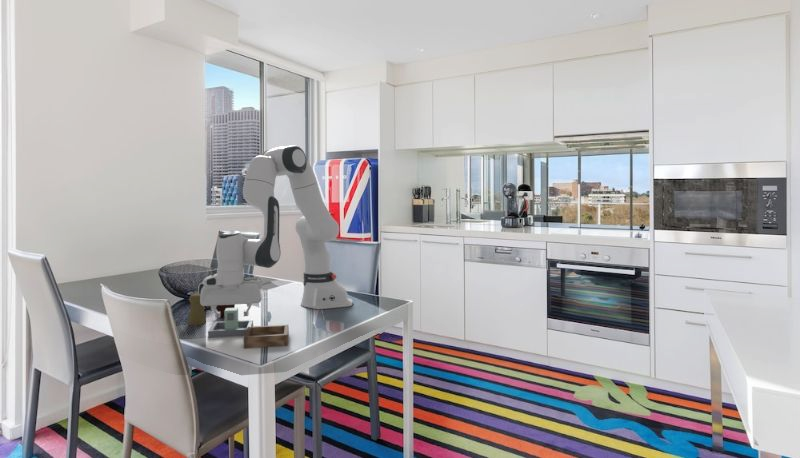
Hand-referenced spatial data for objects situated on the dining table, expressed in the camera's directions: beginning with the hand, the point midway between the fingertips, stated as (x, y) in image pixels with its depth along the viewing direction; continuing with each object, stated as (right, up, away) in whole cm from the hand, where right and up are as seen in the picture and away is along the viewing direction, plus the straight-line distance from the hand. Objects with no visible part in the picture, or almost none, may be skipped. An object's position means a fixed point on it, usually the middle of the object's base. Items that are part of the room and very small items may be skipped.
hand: (232, 316), depth 158 cm
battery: (-21, -3, +30) cm, 36 cm away
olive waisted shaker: (-17, -5, +10) cm, 20 cm away
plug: (0, -5, 0) cm, 5 cm away
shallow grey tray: (0, -5, 0) cm, 5 cm away
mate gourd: (-9, -4, +19) cm, 21 cm away
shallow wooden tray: (+15, -6, -9) cm, 19 cm away
